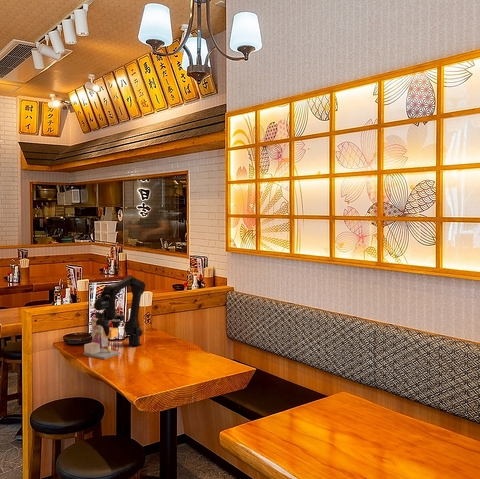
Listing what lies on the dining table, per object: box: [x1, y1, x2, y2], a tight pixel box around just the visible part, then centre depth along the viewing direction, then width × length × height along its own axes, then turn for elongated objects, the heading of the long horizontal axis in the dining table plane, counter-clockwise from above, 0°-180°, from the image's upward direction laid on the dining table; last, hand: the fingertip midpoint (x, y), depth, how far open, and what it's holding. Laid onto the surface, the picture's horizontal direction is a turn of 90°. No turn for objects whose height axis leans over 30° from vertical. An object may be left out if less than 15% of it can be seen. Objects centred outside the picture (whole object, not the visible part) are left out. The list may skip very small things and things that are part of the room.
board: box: [82, 341, 121, 360], centre depth 286 cm, size 12×17×6 cm
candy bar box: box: [90, 317, 109, 349], centre depth 304 cm, size 11×5×16 cm, turn 47°
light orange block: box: [103, 326, 119, 339], centre depth 285 cm, size 6×6×5 cm
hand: (110, 334), depth 285 cm, fingers closed on light orange block, 6 cm apart
